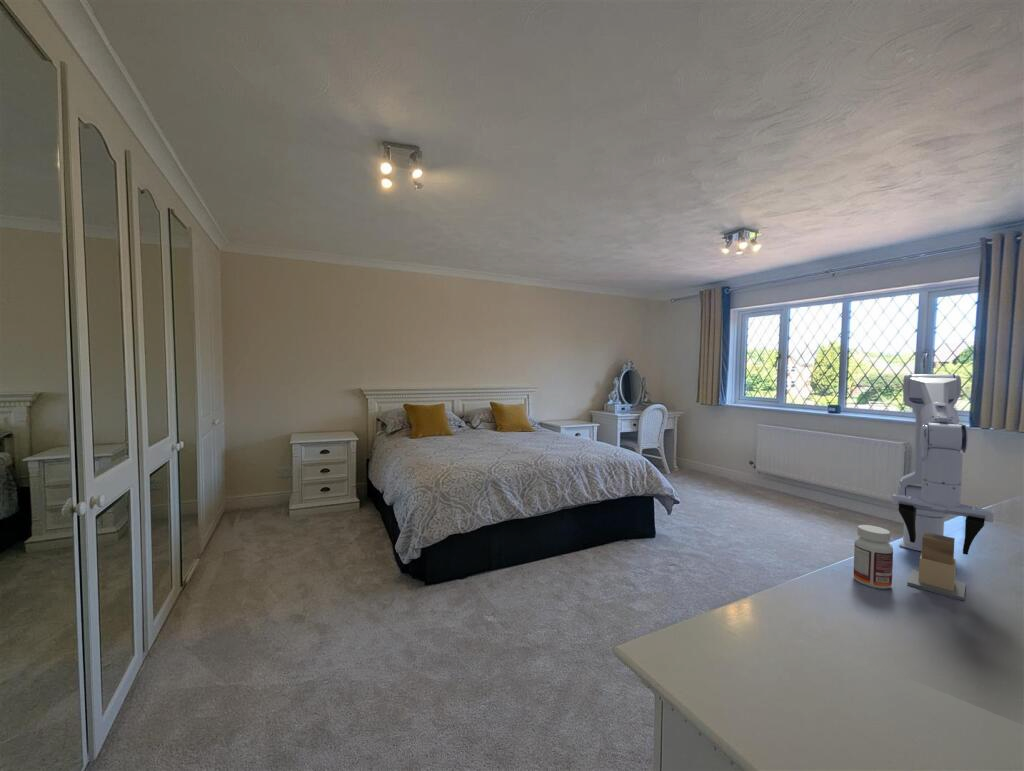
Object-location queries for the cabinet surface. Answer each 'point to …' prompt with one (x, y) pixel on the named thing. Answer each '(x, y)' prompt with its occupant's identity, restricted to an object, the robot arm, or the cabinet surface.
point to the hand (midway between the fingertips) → (938, 546)
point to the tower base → (936, 589)
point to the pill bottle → (873, 557)
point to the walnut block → (938, 548)
